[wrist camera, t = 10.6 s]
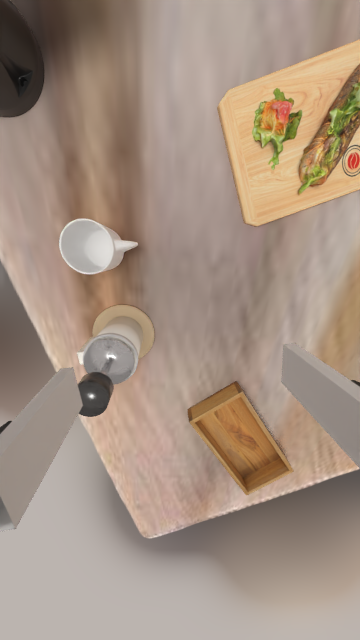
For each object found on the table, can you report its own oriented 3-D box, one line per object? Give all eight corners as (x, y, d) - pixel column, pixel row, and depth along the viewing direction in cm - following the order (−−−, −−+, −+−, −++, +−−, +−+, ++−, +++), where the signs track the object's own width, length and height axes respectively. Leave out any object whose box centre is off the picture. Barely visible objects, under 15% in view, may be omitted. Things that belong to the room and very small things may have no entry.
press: (87, 308, 49) (59, 327, 36) (149, 300, 49) (144, 317, 36) (100, 364, 53) (80, 399, 40) (158, 356, 53) (156, 389, 40)
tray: (186, 408, 59) (189, 423, 53) (235, 379, 57) (243, 392, 52) (239, 476, 67) (246, 496, 62) (283, 453, 65) (294, 471, 60)
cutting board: (244, 230, 47) (259, 226, 40) (214, 101, 40) (225, 67, 33) (403, 173, 46) (448, 157, 38) (400, 29, 39) (453, -22, 32)
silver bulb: (80, 341, 37) (45, 376, 26) (130, 335, 37) (116, 367, 26) (91, 384, 39) (64, 432, 28) (138, 378, 39) (128, 423, 29)
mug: (143, 266, 47) (138, 269, 37) (87, 272, 47) (66, 276, 36) (138, 223, 45) (130, 214, 34) (78, 228, 44) (52, 220, 34)
